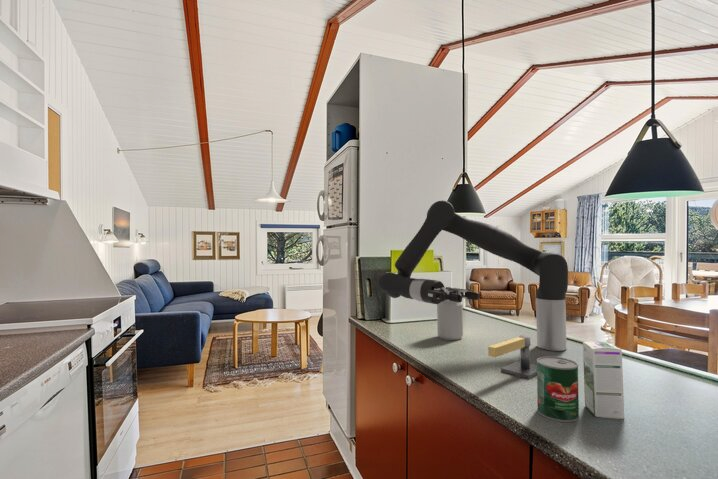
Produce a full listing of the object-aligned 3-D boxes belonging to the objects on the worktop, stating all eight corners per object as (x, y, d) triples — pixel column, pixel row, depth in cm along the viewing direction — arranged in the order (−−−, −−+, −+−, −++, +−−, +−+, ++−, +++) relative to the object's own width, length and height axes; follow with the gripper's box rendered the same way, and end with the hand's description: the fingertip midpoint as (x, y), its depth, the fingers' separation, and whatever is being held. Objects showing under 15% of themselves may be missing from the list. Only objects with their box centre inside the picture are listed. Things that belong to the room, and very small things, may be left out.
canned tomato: (561, 425, 74) (560, 370, 74) (529, 409, 81) (528, 359, 81) (588, 417, 77) (586, 364, 77) (554, 403, 84) (553, 354, 85)
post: (518, 364, 112) (518, 341, 112) (545, 371, 106) (545, 346, 106) (501, 371, 106) (500, 346, 106) (528, 379, 99) (528, 353, 100)
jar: (436, 334, 151) (436, 290, 151) (461, 334, 150) (460, 290, 150) (438, 340, 141) (437, 293, 142) (464, 341, 140) (464, 293, 140)
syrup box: (625, 419, 76) (624, 348, 76) (593, 417, 77) (592, 347, 78) (612, 407, 82) (611, 341, 82) (583, 405, 83) (581, 340, 83)
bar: (522, 343, 109) (522, 334, 109) (532, 345, 106) (532, 336, 106) (486, 355, 97) (486, 346, 97) (497, 357, 95) (496, 348, 95)
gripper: (412, 280, 116) (455, 286, 103) (440, 278, 125) (484, 283, 112) (411, 304, 116) (455, 312, 103) (440, 300, 125) (483, 308, 112)
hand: (470, 297), depth 108 cm, fingers open, 8 cm apart
